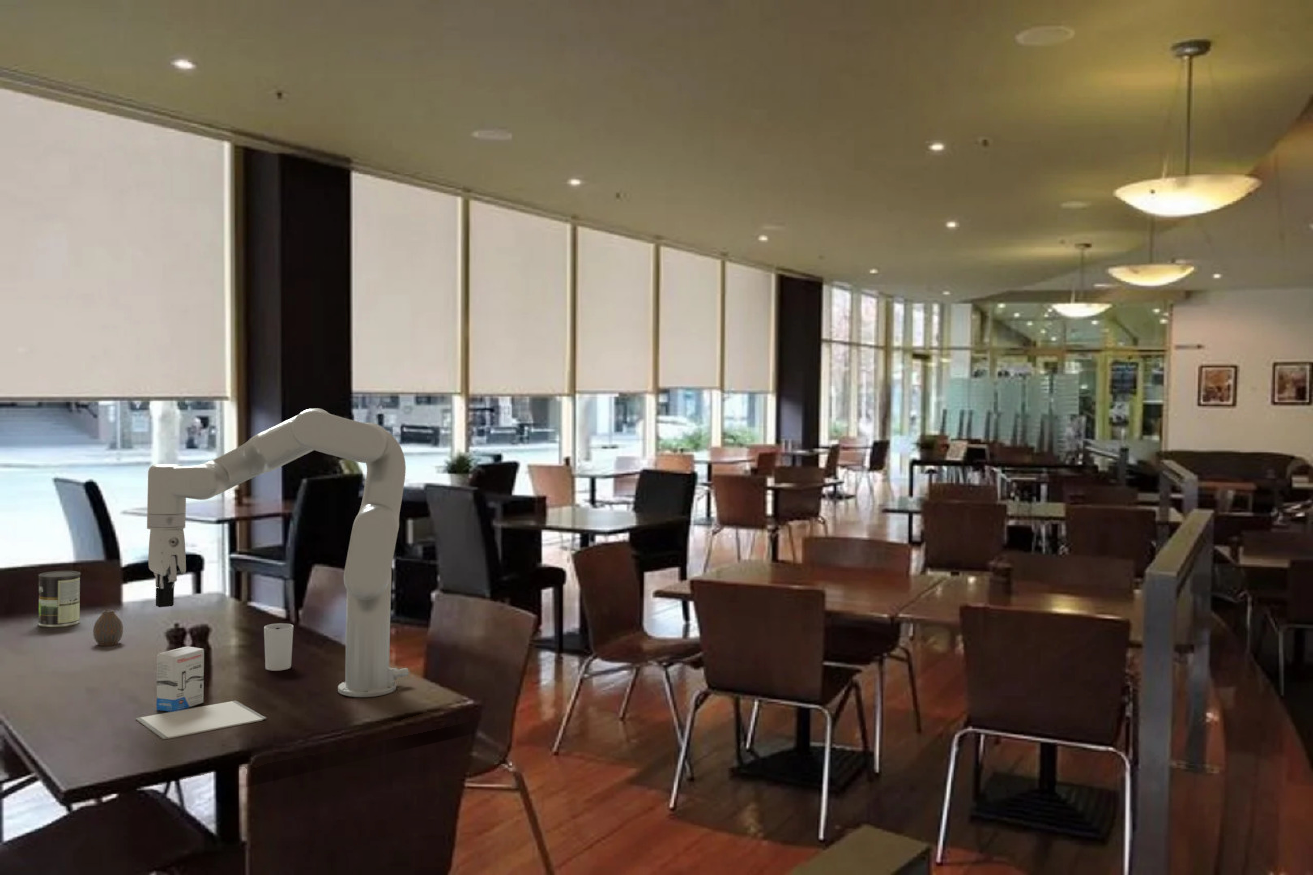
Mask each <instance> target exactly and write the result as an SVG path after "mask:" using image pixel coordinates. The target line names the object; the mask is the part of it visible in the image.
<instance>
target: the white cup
mask: <svg viewBox="0 0 1313 875" xmlns="http://www.w3.org/2000/svg"><path fill="white" fill-rule="evenodd" d="M293 635H294V625H293V624H291V623H271V624H267V625H264V627H263V637H264V659H265V662H264V664H265V665H264V666H265V670H267V671H275V672H276V671H283V670H284V671H285V670H288V669H291V667H292V655H293V638H294V636H293Z"/></svg>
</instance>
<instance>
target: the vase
mask: <svg viewBox="0 0 1313 875" xmlns="http://www.w3.org/2000/svg"><path fill="white" fill-rule="evenodd" d="M92 630H93V631H92V632H93V633H92V635H93V638H94V640H95V642H96V644H98V646H102V647H110V646H114V645H117V644H118V643H120V640H122V637H123V635H124V625H123V622H122V620H121V618H120V617H119V616H118V615H117V614H116V613H115V611H114V609H107V610H106V609H105V610H103V611H102V613H101V614H100V616H99V617H98V619H97V620H96V621H95V623H94V626H93V629H92Z"/></svg>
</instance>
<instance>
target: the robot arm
mask: <svg viewBox="0 0 1313 875" xmlns="http://www.w3.org/2000/svg"><path fill="white" fill-rule="evenodd" d="M313 451H316V452H319V453H323V454H326V455H329V456H334V457H338V458H341V459H344V460H345V459H346V460H348V461H353V462H356V463H361V464H365V465H366V476H365V482H364V487H363V494H362V500H361V503H360V504H361V505H360V508H359V511H358V513H357V515H356V516H355V519H354V521H353V524H352V529H351V534H350V539H349V544H348V550H347V554H346V555H347V556H346V560H345V566H344V570H343V571H344V572H343V584H344V586H345V587H344V588H345V589H346V608H345V609H346V618H345V667H344V668H345V673H344V674H345V678H344V679H345V681H343V682H341V683H339V684H338V686H337V692H338V693H339V694H341V695H343V696H347V697H350V698H351V697H353V698H373V697H378V696H379V697H380V696H384V695H388V694H391V693H392V692H394V691H395V690H397V683H396V682H395V681H396V680H397V679H398V678H405V677H408V676H409V674H410V671H409V668H407V667H404V668H399V669H398V668H397V667H390V647H391V646H390V645H391V644H390V643H391V642H390V639H391V638H390V637H391V633H390V632H391V628H390V627H391V600H392V599H391V596H392V595H391V594H392V566H393V565H392V564H393V561H394V560H393V559H394V554H395V550H396V543H397V539H398V533H399V528H400V512H401V507H402V506H401V505H402V501H403V493H404V487H405V480H406V470H407V469H406V465H407V464H406V459H405V455H404V451H403V448H402V446H401V445H400V443H399V442H398V440H397V439H396V438H395V436H393V434H391V433H390V432H389V431H388V430H387V429H386V428H384V427H383V426H381V425H380V424H377V423H375V422H360V421H357V420H353V419H350V418H345V417H342V416H339V415H335V414H331V413H329V412H328V411H326V410H324V409H323V408H318V407H317V408H316V407H315V408H308V409H305V410H303V411H300V413H298V414H297V415H295V416H293V417H291V418H289V419H286V420H284V421H282V422H280V423H278V424H276V425H275V426H272V427H270V428H268V429H265V430H264V431H261V432H259V433H256V434H255V435H254V436H252V437H251V438H249V439H248V440H247V441H246V442H245V443H243V444H242V445H239V446H238V447H236V448H234V449H232V450H231V451H228V452H226V453H224V454H222V455H220V456H217V457H216V458H214V459H211V460H209V461H207V462H204V463H201V464H197V465H189V466H184V465H183V464H179V463H178V464H177V463H157V464H152V465H150V466H149V469H148V471H147V508H146V509H147V514H146V515H147V516H146V529H148V530H149V540H148V541H149V542H148V569H149V570H150V571H151V572H153V575H154V577H155V606H156V607H158V608H169V607H173V606H174V602H175V601H174V600H175V586H176V585H175V584H176V582H177V581H178V577H177V576H178V575H181V576H182V575H184V574H186V571H187V563H186V561H187V559H186V558H187V557H186V540H185V531H184V530H185V529H186V514H187V513H186V512H187V510H186V506H187V505H186V504H187V499H191V500H200V501H206V500H209V499H213V498H215V496H218V495H220V494H222V493H224V492H226V491H228V490H230V489H232V488H234V487H237V486H239V485H240V484H243V483H245V482H246V481H248V480H251V479H253V478H255V477H257V476H260V475H263V474H266V473H269V472H271V471H274V470H276V469H278V468H281V467H282V466H284V465H287V464H289V463H291V462H293V461H295V460H297V459H298V458H299V459H300V458H301V457H303V456H304V455H307V454H309V453H311V452H313ZM177 574H178V575H177Z"/></svg>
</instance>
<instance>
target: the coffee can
mask: <svg viewBox="0 0 1313 875" xmlns="http://www.w3.org/2000/svg"><path fill="white" fill-rule="evenodd" d="M80 580H81V572H80V571H77V570H76V571H75V570H56V571H55V570H53V571H45V572H41V573H39V574H38V626H39V627H43V628H61V627H69V626H75V625H78V624H80V622H81V620H80V617H81V616H80V615H81V614H80V605H81V604H80V596H81V594H80V592H81V581H80Z"/></svg>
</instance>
